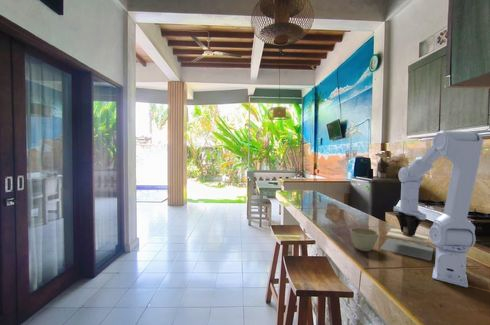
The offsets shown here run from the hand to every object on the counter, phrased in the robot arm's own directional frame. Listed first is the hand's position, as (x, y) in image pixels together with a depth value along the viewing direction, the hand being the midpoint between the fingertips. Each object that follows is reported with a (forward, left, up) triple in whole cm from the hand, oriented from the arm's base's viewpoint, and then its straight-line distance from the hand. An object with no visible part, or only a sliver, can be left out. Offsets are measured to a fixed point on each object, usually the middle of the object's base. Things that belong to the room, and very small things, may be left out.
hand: (407, 233), depth 99 cm
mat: (0, 0, -6) cm, 6 cm away
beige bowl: (-12, +13, -7) cm, 19 cm away
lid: (0, 0, -1) cm, 1 cm away
